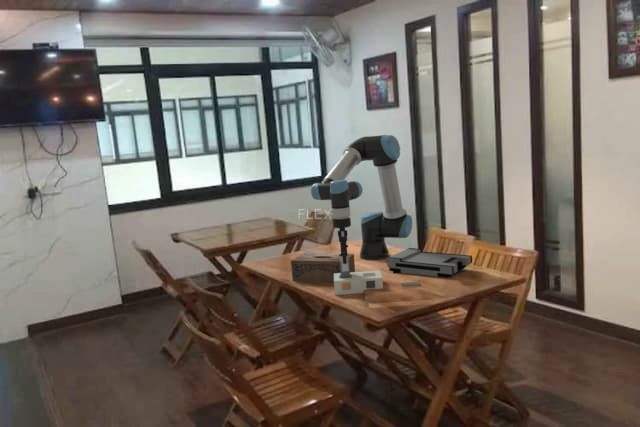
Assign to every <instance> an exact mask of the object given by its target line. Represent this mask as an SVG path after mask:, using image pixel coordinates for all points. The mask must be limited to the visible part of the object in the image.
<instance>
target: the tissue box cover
mask: <svg viewBox="0 0 640 427" xmlns="http://www.w3.org/2000/svg"><path fill="white" fill-rule="evenodd" d="M339 254H340V253H330V252H329V253H326V252H325V253H323V252H321V253H319V252H317V253H313V252H303V253H302V254H300V255H297V256H296V257H295V258H292V259H291V260H290V266H291V276H292V277H291V278H292V281H293V282H312V281H318V282H319V283H334V274H335V273H340V259H341V256H339ZM348 259H349V265H350V272H356V266H355V254H354V253H348Z"/></svg>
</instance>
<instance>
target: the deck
mask: <svg viewBox="0 0 640 427" xmlns="http://www.w3.org/2000/svg"><path fill="white" fill-rule="evenodd" d="M400 285H401V287H402V289H413V288H423V285H422V283H421V282H420V281H409V282H408V281H407V282H400Z"/></svg>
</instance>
